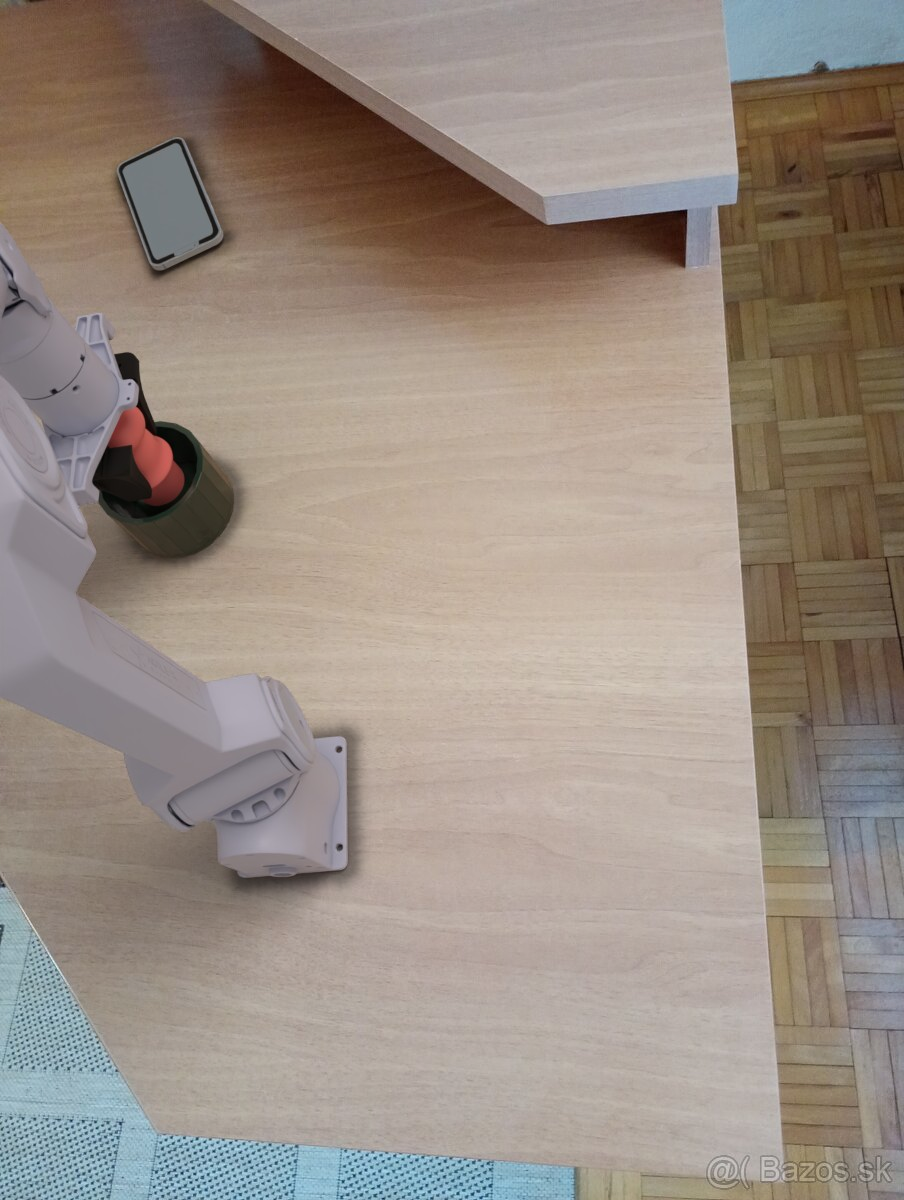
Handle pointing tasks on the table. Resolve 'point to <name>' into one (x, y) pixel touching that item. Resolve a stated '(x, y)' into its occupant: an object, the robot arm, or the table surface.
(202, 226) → the smartphone
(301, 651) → the table surface
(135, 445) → the figurine
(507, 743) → the table surface
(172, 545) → the cup
